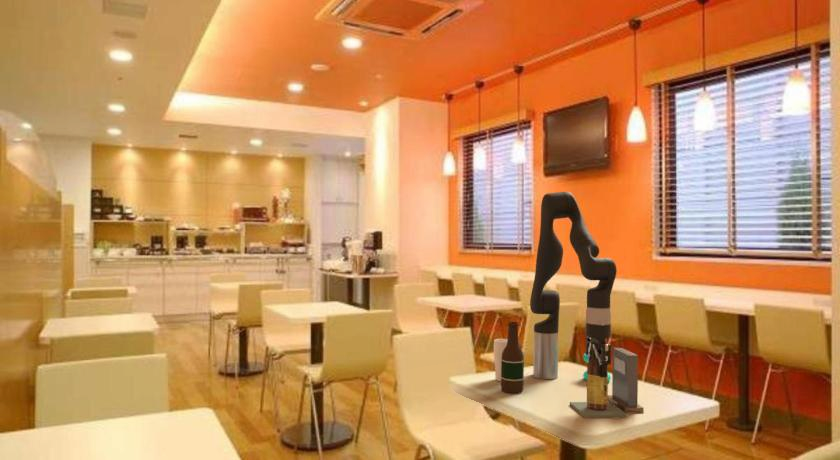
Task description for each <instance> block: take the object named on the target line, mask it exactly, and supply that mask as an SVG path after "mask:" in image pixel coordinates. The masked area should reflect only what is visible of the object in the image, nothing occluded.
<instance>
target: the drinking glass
mask: <svg viewBox="0 0 840 460" xmlns="http://www.w3.org/2000/svg"><path fill="white" fill-rule="evenodd" d="M507 341H508V338H496V339H494V340H493V357H494V358H493V360H494V361H493V362H494V373H495V374H494V375H495V377H494V378H495V381H498V382H501V361H502V353H503V350H504V349H505V347H506V346H507Z"/></svg>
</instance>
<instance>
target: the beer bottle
mask: <svg viewBox="0 0 840 460" xmlns="http://www.w3.org/2000/svg"><path fill="white" fill-rule="evenodd" d="M507 326H508V330H507V339H508V341H507V346H506V347H505V349H504V350H503V353H502V361H501V381H500V389H501V392H503V393H505V394H510V395H512V394H513V395H517V394H522V393H523V391H524V384H525V382H524V380H525V379H524V376H525V371H524V370H525V369H524V368H525V358H524V357H525V356H524V352H523V350H522V348H521V346H520V343H519V329H518V327H519V323H518V322H517V321H508V324H507Z"/></svg>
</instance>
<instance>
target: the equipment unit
mask: <svg viewBox="0 0 840 460" xmlns="http://www.w3.org/2000/svg"><path fill="white" fill-rule="evenodd" d="M638 374H639V355H638V354H636V353H634V352H631V351H630V350H628V349H625V348H624V347H623V348H622V347H612V376H611V379H612V380H611V381H612V382H611V383H612V384H611V385H612V386H611V387H612V388H611V392H612V393H611V394H610V395H609V394H608V402H610V403H612V404H613V405H614V406H616V407H617V408H619V409H620V410H621V411H623V412H624V413H626V414H627V413H629V414H630V413H631V414H632V413H633V414H634V413H636V414H637V413H644V407H643V406H642V405H640V404H638V397H639V396H638V392H639V390H638V389H639V386H638V383H639V382H638V381H639V379H638V378H639V375H638Z"/></svg>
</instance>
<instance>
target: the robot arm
mask: <svg viewBox="0 0 840 460" xmlns="http://www.w3.org/2000/svg"><path fill="white" fill-rule="evenodd" d="M567 218H568V219H569V220H570V221H571V227H570V231H569V242H570V245H571V247H572V248H573V251H574V252H575V254H576V255H577V258H578V262H579V266H580V272H581V275H582V276H583V278H585V279H587V280H588V281H598V284H597V285H596V286H595V287H590V288H588V290H587V292H586V310H585V336H586V337H585V353H586V355H588V358H589V361H590V360H591V344H593V349H594V350H595V354H596V358H597V359H598V360H599V364H600V365H599V376H600V377H601V378H606V377H607V369H608V366H609V365H611V363H612V347H611V343H609V344H607V341H606V340H607V339H610V338H611V337H612V336H611V335H612V313H611V312H612V311H611V293H612V291H613V287H614V284H615V280H616V277H617V271H618V270H617V265H616V263H615V261H614V259H612V258H610V257H598V256H599V254H600V248H599V246H598V244H597V242H596V241H595V239H594V237H593V236H592V235H591V233H590V231H589V229H588V228H587V225H586V223H585V220H584V217H583V215H582V211H581V210H580V207H579V204H578V201H577V200H576V198H575V196H574V195H573V193H571V192H570V191H555V192H548V193H546V194H544V195H543V197H542V199H541V205H540V226H539V227H540V229H539V237H538V239H539V240H538V246H537V252H536V260H535V272H534V274H535V275H534V280H533V284H532V289H531V292H530V293H531V294H530V300H529V306H530V311H531V313H532V314H535V315H548V317H547V318H545V319H543V320H542V321H539V322H536V323H534V325H533V375H532V376H533V377H535V378H536V379H543V380H554V379H555V380H556V379H557V378H558V377H559V376H558V375H559V372H558V371H559V326H560V325H559V321H560V307H561V306H560V303H561V300H560V294H559V292H558V291H557V290H554V289H552V290H549V289H544V288H545V286H546V284H548V282H549V281H550V280H551V279H552V278H553V277H554V276H555V274H556V273H558V272H559V270H560V268H561V266H562V263H563V257H564V247H563V245H562V243H561V241H560V239H559V238H558V237H557V236H558V235H557V234H556V233H555V231H554V221H555V220H558V219H567ZM607 357H608V359H607ZM601 358H602V360H601Z"/></svg>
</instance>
